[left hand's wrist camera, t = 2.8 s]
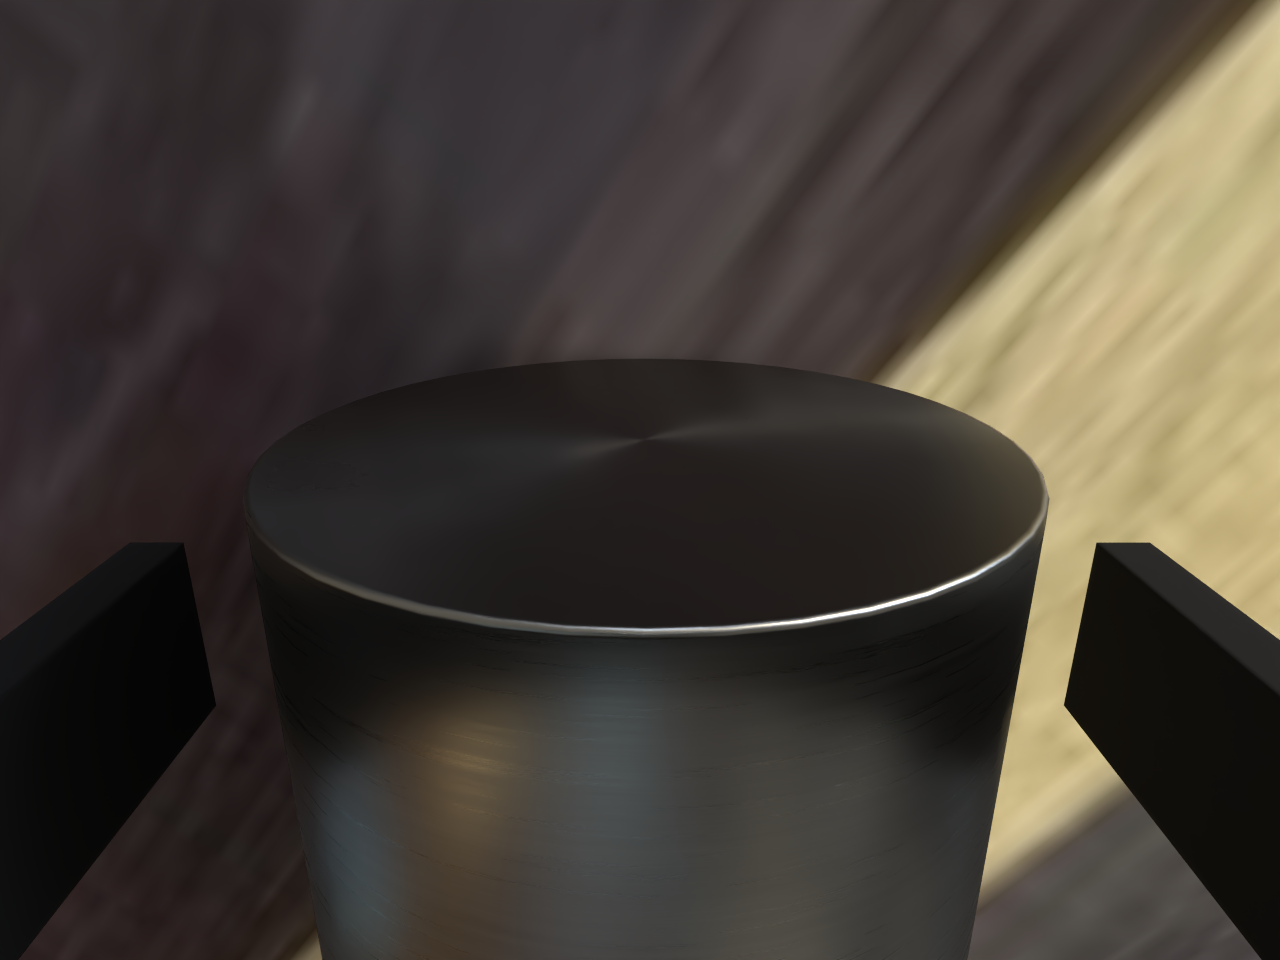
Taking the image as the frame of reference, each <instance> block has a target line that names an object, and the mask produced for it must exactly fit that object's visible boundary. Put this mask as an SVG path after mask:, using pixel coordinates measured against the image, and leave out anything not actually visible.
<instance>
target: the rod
mask: <svg viewBox="0 0 1280 960" xmlns="http://www.w3.org/2000/svg"><path fill="white" fill-rule="evenodd" d="M242 500H243V506H244V512H245V518H246V524H247V530H248V536H249V541H250V547H251V553H252V559H253V564H254V570H255V576H256V581H257V587H258V593H259V599H260V604H261V610H262V616H263V622H264V627H265V633H266V639H267V644H268V650H269V656H270V662H271V667H272V673H273V679H274V685H275V690H276V696H277V702H278V708H279V713H280V719H281V725H282V730H283V736H284V742H285V748H286V753H287V759H288V765H289V771H290V776H291V782H292V788H293V793H294V799H295V805H296V811H297V816H298V822H299V828H300V834H301V839H302V845H303V851H304V857H305V862H306V868H307V874H308V879H309V885H310V891H311V897H312V902H313V908H314V914H315V920H316V925H317V931H318V937H319V942H320V948H321V954H322V960H967V959H968V953H969V948H970V942H971V936H972V931H973V925H974V920H975V914H976V909H977V903H978V897H979V892H980V886H981V881H982V875H983V870H984V864H985V859H986V853H987V847H988V842H989V836H990V831H991V825H992V820H993V814H994V808H995V803H996V797H997V792H998V786H999V781H1000V775H1001V770H1002V764H1003V758H1004V753H1005V747H1006V742H1007V736H1008V731H1009V725H1010V719H1011V714H1012V708H1013V703H1014V697H1015V692H1016V686H1017V681H1018V675H1019V669H1020V664H1021V658H1022V653H1023V647H1024V642H1025V636H1026V630H1027V625H1028V619H1029V614H1030V608H1031V603H1032V597H1033V592H1034V586H1035V580H1036V575H1037V569H1038V564H1039V558H1040V553H1041V547H1042V541H1043V536H1044V530H1045V525H1046V519H1047V512H1048V505H1049V495H1048V492H1047V488H1046V484H1045V481H1044V477H1043V474H1042V473H1041V471H1040V470H1039V468H1038V467H1037V465H1036V464H1035V462H1034V461H1033V459H1032V458H1031V457H1030V456H1029V455H1028V454H1027V453H1026V452H1025V451H1024V450H1023V449H1022V448H1020V447H1019V446H1018V445H1017V444H1016V443H1015V442H1014V441H1012V440H1011V439H1009V438H1008V437H1006V436H1005V435H1003V434H1002V433H1000V432H999V431H997V430H996V429H994V428H993V427H991V426H989V425H987V424H985V423H983V422H981V421H979V420H977V419H975V418H973V417H971V416H969V415H967V414H965V413H962V412H960V411H958V410H955V409H953V408H950V407H948V406H945V405H943V404H940V403H938V402H935V401H932V400H929V399H926V398H923V397H920V396H917V395H914V394H911V393H908V392H904V391H900V390H896V389H893V388H889V387H885V386H882V385H878V384H873V383H869V382H864V381H860V380H855V379H851V378H846V377H841V376H835V375H829V374H824V373H818V372H812V371H805V370H798V369H791V368H784V367H775V366H766V365H756V364H747V363H734V362H720V361H703V360H680V359H607V360H584V361H567V362H554V363H541V364H531V365H522V366H512V367H504V368H497V369H490V370H483V371H475V372H470V373H464V374H458V375H453V376H447V377H442V378H437V379H433V380H428V381H424V382H419V383H415V384H410V385H407V386H403V387H399V388H395V389H392V390H388V391H384V392H381V393H378V394H375V395H372V396H369V397H366V398H363V399H360V400H357V401H354V402H351V403H348V404H346V405H344V406H341V407H339V408H336V409H334V410H331V411H329V412H326V413H324V414H322V415H320V416H318V417H316V418H314V419H312V420H310V421H308V422H306V423H304V424H302V425H300V426H298V427H297V428H295V429H294V430H292V431H291V432H289V433H288V434H286V435H285V436H283V437H282V438H280V439H279V440H277V441H276V442H275V443H274V444H273V445H272V446H271V447H270V448H269V449H268V450H266V451H265V452H264V453H263V454H262V455H261V456H260V457H259V459H258V460H257V462H256V463H255V465H254V466H253V468H252V469H251V471H250V472H249V474H248V478H247V481H246V485H245V489H244V493H243V497H242Z"/></svg>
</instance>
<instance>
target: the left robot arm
mask: <svg viewBox="0 0 1280 960" xmlns="http://www.w3.org/2000/svg"><path fill="white" fill-rule="evenodd" d="M215 706H216V703H215V698H214V693H213V688H212V683H211V678H210V673H209V668H208V663H207V658H206V653H205V648H204V643H203V638H202V633H201V628H200V623H199V618H198V613H197V608H196V603H195V598H194V593H193V588H192V583H191V578H190V573H189V568H188V563H187V558H186V553H185V548H184V543H129V544H128V545H126V546H125V547H124V548H122V549H121V550H120V551H118V552H117V553H116V554H114V555H113V556H112V557H110V558H109V559H108V560H106V561H105V562H104V563H102V564H101V565H100V566H98V567H97V568H96V569H94V570H93V571H92V572H90V573H89V574H88V575H86V576H85V577H84V578H82V579H81V580H80V581H78V582H77V583H76V584H74V585H73V586H72V587H70V588H69V589H68V590H66V591H65V592H64V593H62V594H61V595H60V596H58V597H57V598H56V599H54V600H53V601H52V602H50V603H49V604H48V605H46V606H45V607H44V608H42V609H41V610H40V611H38V612H37V613H36V614H34V615H33V616H32V617H30V618H29V619H28V620H26V621H25V622H24V623H22V624H21V625H20V626H18V627H17V628H16V629H14V630H13V631H12V632H10V633H9V634H8V635H6V636H5V637H4V638H2V639H1V640H0V960H18V959H19V958H20V957H21V955H22V954H23V953H24V952H25V950H26V949H27V948H28V946H29V945H30V944H31V943H32V941H33V940H34V939H35V937H36V936H37V935H38V934H39V932H40V931H41V930H42V928H43V927H44V926H45V925H46V923H47V922H48V921H49V919H50V918H51V917H52V916H53V914H54V913H55V912H56V910H57V909H58V908H59V907H60V905H61V904H62V903H63V901H64V900H65V899H66V898H67V896H68V895H69V894H70V892H71V891H72V890H73V889H74V887H75V886H76V885H77V883H78V882H79V881H80V880H81V878H82V877H83V876H84V874H85V873H86V872H87V871H88V869H89V868H90V867H91V865H92V864H93V863H94V862H95V860H96V859H97V858H98V856H99V855H100V854H101V853H102V851H103V850H104V849H105V847H106V846H107V845H108V844H109V842H110V841H111V840H112V838H113V837H114V836H115V835H116V833H117V832H118V831H119V829H120V828H121V827H122V826H123V824H124V823H125V822H126V820H127V819H128V818H129V817H130V815H131V814H132V813H133V811H134V810H135V809H136V808H137V806H138V805H139V804H140V802H141V801H142V800H143V799H144V797H145V796H146V795H147V793H148V792H149V791H150V790H151V788H152V787H153V786H154V784H155V783H156V782H157V781H158V779H159V778H160V777H161V775H162V774H163V773H164V772H165V770H166V769H167V768H168V766H169V765H170V764H171V763H172V761H173V760H174V759H175V757H176V756H177V755H178V754H179V752H180V751H181V750H182V748H183V747H184V746H185V745H186V743H187V742H188V741H189V739H190V738H191V737H192V736H193V734H194V733H195V732H196V730H197V729H198V728H199V727H200V725H201V724H202V723H203V721H204V720H205V719H206V718H207V716H208V715H209V714H210V712H211V711H212V710H213V709H214V707H215ZM1064 706H1065V707H1066V709H1067V710H1068V711H1069V712H1070V714H1071V715H1072V716H1073V718H1074V719H1075V720H1076V721H1077V723H1078V724H1079V725H1080V727H1081V728H1082V729H1083V730H1084V732H1085V733H1086V734H1087V736H1088V737H1089V738H1090V739H1091V741H1092V742H1093V743H1094V745H1095V746H1096V747H1097V748H1098V750H1099V751H1100V752H1101V754H1102V755H1103V756H1104V757H1105V759H1106V760H1107V761H1108V763H1109V764H1110V765H1111V766H1112V768H1113V769H1114V770H1115V772H1116V773H1117V774H1118V775H1119V777H1120V778H1121V779H1122V781H1123V782H1124V783H1125V784H1126V786H1127V787H1128V788H1129V790H1130V791H1131V792H1132V793H1133V795H1134V796H1135V797H1136V799H1137V800H1138V801H1139V802H1140V804H1141V805H1142V806H1143V808H1144V809H1145V810H1146V811H1147V813H1148V814H1149V815H1150V817H1151V818H1152V819H1153V820H1154V822H1155V823H1156V824H1157V826H1158V827H1159V828H1160V829H1161V831H1162V832H1163V833H1164V835H1165V836H1166V837H1167V838H1168V840H1169V841H1170V842H1171V844H1172V845H1173V846H1174V847H1175V849H1176V850H1177V851H1178V853H1179V854H1180V855H1181V856H1182V858H1183V859H1184V860H1185V862H1186V863H1187V864H1188V865H1189V867H1190V868H1191V869H1192V871H1193V872H1194V873H1195V874H1196V876H1197V877H1198V878H1199V880H1200V881H1201V882H1202V883H1203V885H1204V886H1205V887H1206V889H1207V890H1208V891H1209V892H1210V894H1211V895H1212V896H1213V898H1214V899H1215V900H1216V901H1217V903H1218V904H1219V905H1220V907H1221V908H1222V909H1223V910H1224V912H1225V913H1226V914H1227V916H1228V917H1229V918H1230V919H1231V921H1232V922H1233V923H1234V925H1235V926H1236V927H1237V928H1238V930H1239V931H1240V932H1241V934H1242V935H1243V936H1244V937H1245V939H1246V940H1247V941H1248V943H1249V944H1250V945H1251V946H1252V948H1253V949H1254V950H1255V952H1256V953H1257V954H1258V955H1259V957H1260V958H1261V959H1262V960H1280V640H1279V639H1278V638H1276V637H1275V636H1274V635H1272V634H1271V633H1270V632H1268V631H1267V630H1266V629H1264V628H1263V627H1262V626H1260V625H1259V624H1258V623H1256V622H1255V621H1254V620H1252V619H1251V618H1250V617H1248V616H1247V615H1246V614H1244V613H1243V612H1242V611H1240V610H1239V609H1238V608H1236V607H1235V606H1234V605H1232V604H1231V603H1230V602H1228V601H1227V600H1226V599H1224V598H1223V597H1222V596H1220V595H1219V594H1218V593H1216V592H1215V591H1214V590H1212V589H1211V588H1210V587H1208V586H1207V585H1206V584H1204V583H1203V582H1202V581H1200V580H1199V579H1198V578H1196V577H1195V576H1194V575H1192V574H1191V573H1190V572H1188V571H1187V570H1186V569H1184V568H1183V567H1182V566H1180V565H1179V564H1178V563H1176V562H1175V561H1174V560H1172V559H1171V558H1170V557H1168V556H1167V555H1166V554H1164V553H1163V552H1162V551H1160V550H1159V549H1158V548H1156V547H1155V546H1154V545H1152V544H1151V543H1096V548H1095V553H1094V558H1093V563H1092V568H1091V573H1090V578H1089V583H1088V588H1087V593H1086V598H1085V603H1084V608H1083V613H1082V618H1081V623H1080V628H1079V633H1078V638H1077V643H1076V648H1075V653H1074V658H1073V663H1072V668H1071V673H1070V678H1069V683H1068V688H1067V693H1066V698H1065V703H1064Z"/></svg>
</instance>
